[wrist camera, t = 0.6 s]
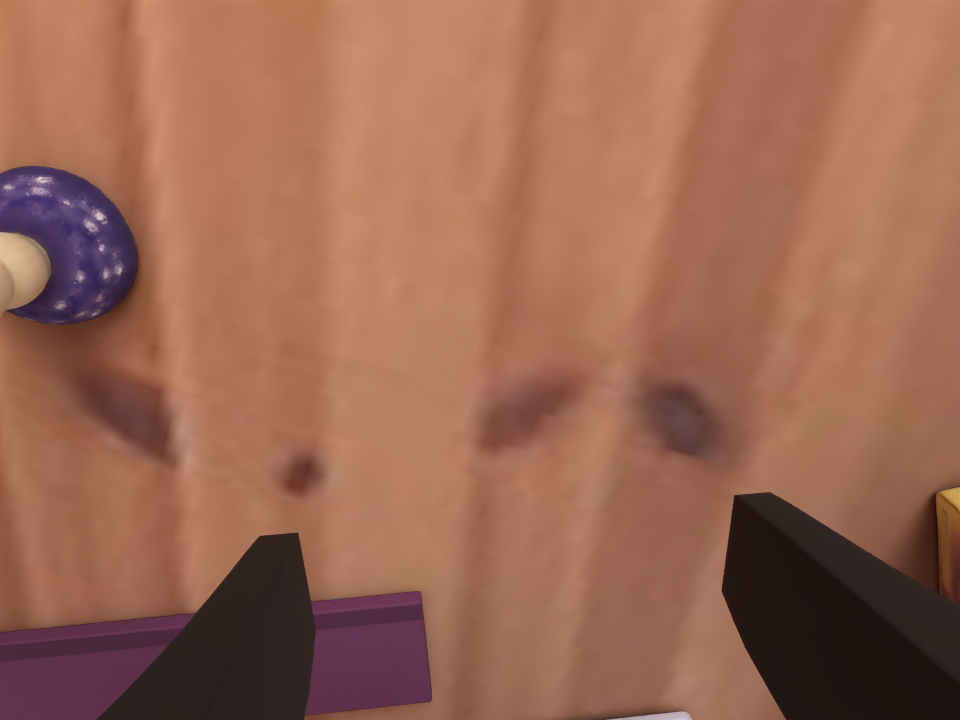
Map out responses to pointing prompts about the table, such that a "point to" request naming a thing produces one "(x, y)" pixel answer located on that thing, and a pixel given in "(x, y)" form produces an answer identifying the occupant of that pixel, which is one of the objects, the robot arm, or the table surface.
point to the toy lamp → (61, 247)
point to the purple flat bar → (137, 643)
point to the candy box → (949, 543)
